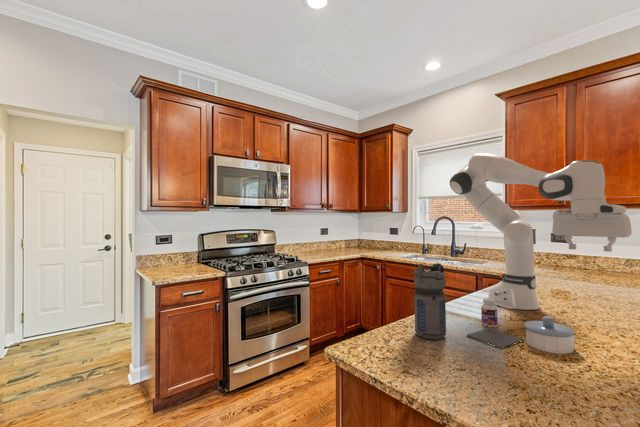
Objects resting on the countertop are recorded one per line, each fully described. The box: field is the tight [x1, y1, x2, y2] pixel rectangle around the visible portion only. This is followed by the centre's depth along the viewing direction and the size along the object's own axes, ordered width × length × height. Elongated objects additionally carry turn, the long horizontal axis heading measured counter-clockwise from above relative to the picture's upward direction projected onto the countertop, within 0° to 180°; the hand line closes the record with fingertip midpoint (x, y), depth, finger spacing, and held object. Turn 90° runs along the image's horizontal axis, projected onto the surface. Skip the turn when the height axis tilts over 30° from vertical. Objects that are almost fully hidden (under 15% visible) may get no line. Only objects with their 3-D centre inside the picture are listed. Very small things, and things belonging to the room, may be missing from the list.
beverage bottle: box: [413, 262, 447, 341], centre depth 109 cm, size 10×13×25 cm
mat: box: [466, 328, 525, 349], centre depth 105 cm, size 12×12×1 cm
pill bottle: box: [480, 297, 499, 328], centre depth 118 cm, size 5×5×10 cm
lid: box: [523, 315, 575, 337], centre depth 98 cm, size 13×13×4 cm
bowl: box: [525, 328, 575, 355], centre depth 98 cm, size 12×12×5 cm
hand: (589, 250), depth 104 cm, fingers open, 8 cm apart
